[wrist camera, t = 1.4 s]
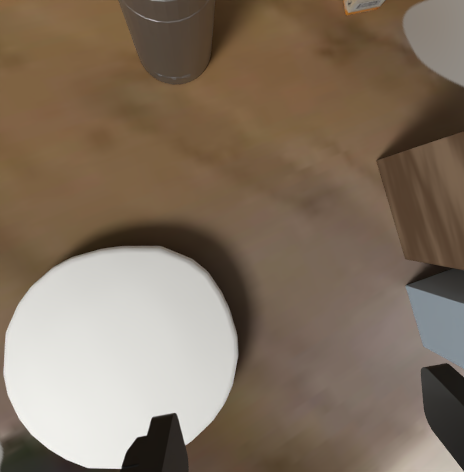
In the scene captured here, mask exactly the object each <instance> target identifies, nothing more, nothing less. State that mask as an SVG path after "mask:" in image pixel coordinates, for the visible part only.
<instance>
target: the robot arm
mask: <svg viewBox="0 0 464 472" xmlns="http://www.w3.org/2000/svg"><path fill="white" fill-rule="evenodd" d="M118 1H119V3H120V6H121V9H122V12H123V14H124V17H125V20H126V23H127V25H128V28H129V31H130V34H131V36H132V39H133V42H134V45H135V48H136V50H137V53H138V56H139V58H140V61H141V63H142V65H143V66H144V68H145V69H146V70H147V71H148V72H149V73H150V74H151V75H152V76H153V77H155V78H156V79H158V80H160V81H162V82H165V83H169V84H183V83H187V82H190V81H192V80H194V79H196V78H197V77H198V76H199V75H201V74H202V72H203V71H204V70H205V69H206V67H207V65H208V63H209V61H210V56H211V49H212V38H213V25H214V12H215V0H118ZM421 382H422V393H423V404H424V412H425V416H426V418H427V421H428V423H429V425H430V427H431V429H432V430H433V432H434V433H435V434H436V436H437V437H438V438H439V440H440V441H441V442H442V443H443V445H444V446H445V447H446V449H447V450H448V451H449V452H450V454H451V455H452V456H453V458H454V459H455V460H456V461H457V463H458V464H459V465H460V467H461V468H462V469H463V470H464V377H463V376H462V375H460V374H459V373H458V372H457V371H456V370H455V369H454V368H453V367H452V366H450V365H449V364H447V363H445V364H440V365H434V366H429V367H423V368H422V369H421ZM121 467H122V469H121V470H120V472H188V456H187V451H186V447H185V443H184V439H183V435H182V431H181V427H180V424H179V420H178V416H177V414H176V413H171V414H165V415H160V416H154V417H152V419H151V422H150V426H149V429H148V433H147V436H141V437H137V438H136V440H135V441H134V442H133V444H132V445H131V446H130V447H129V449H128V450H127V451H126V454H125V457H124V460H123V463H122V466H121Z"/></svg>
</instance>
